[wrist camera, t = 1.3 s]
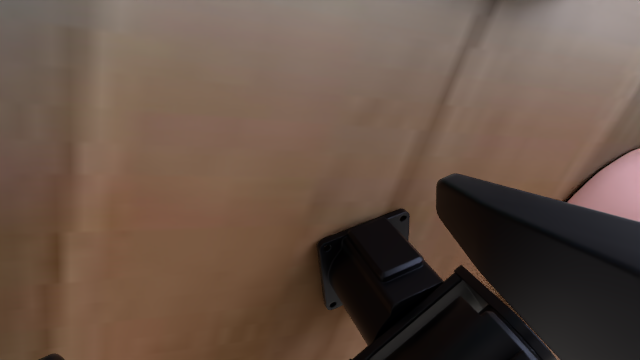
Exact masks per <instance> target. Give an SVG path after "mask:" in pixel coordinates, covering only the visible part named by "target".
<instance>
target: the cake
mask: <svg viewBox="0 0 640 360" xmlns="http://www.w3.org/2000/svg"><path fill="white" fill-rule="evenodd" d="M567 203H570V204H574V205H578V206H582V207H585V208H589V209H593V210H597V211H601V212H604V213H608V214H612V215H616V216H619V217H623V218H627V219H631V220H635V221H638V222H640V148H639V149H636V150H633V151H631V152H629V153H627V154H625V155H624V156H622V157H620V158H619V159H617V160H616V161H614V162H612V163H611V164H609V165H608V166H606V167H605V168H604V169H602V170H601V171H599V172H598V173H597V174H596V175H595V176H594V177H592V178H591V179H590V180H589V181H588V182H587V183H586V184H585V185H584V186H583V187H582V188H581V189H580V190H579V191H577V192H576V193H575V194H574V195H573V196H572V197H571V199H570V200H569V201H568V202H567Z"/></svg>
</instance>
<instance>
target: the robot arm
mask: <svg viewBox="0 0 640 360" xmlns="http://www.w3.org/2000/svg"><path fill="white" fill-rule="evenodd" d="M436 210H437V214H438V216H439V218H440V219H441V221H442V222H443V223H444V225H445V226H446V228H447V229H448V230H449V232H450V233H451V234H452V236H453V237H454V238H455V240H456V241H457V242H458V244H459V245H460V246H461V248H462V249H463V250H464V252H465V253H466V254H467V256H468V257H469V258H470V260H471V261H472V262H473V264H474V265H475V266H476V268H477V269H478V270H479V271H480V273H481V274H482V275H483V276H484V277H485V278H486V279H487V281H488V282H489V283H490V284H491V285H492V286H493V287H494V288H495V289H496V290H497V291H498V293H499V294H500V295H501V296H502V297H503V298H504V299H505V300H506V301H507V302H508V303H509V304H510V306H511V307H512V308H513V309H514V310H515V311H516V312H517V313H518V314H519V315H520V316H521V317H522V319H523V320H524V321H525V322H526V323H527V324H528V325H529V326H530V327H531V328H532V329H533V330H534V331H535V333H536V334H537V335H538V336H539V337H540V338H541V339H542V340H543V341H544V342H545V343H546V344H547V346H548V347H549V348H550V349H551V350H552V351H553V352H554V353H555V354H556V355H557V356H558V357H559V359H560V360H640V222H638V221H635V220H631V219H627V218H623V217H619V216H616V215H612V214H608V213H604V212H601V211H597V210H593V209H589V208H585V207H582V206H578V205H574V204H570V203H567V202H563V201H559V200H555V199H551V198H548V197H544V196H540V195H536V194H532V193H529V192H525V191H521V190H517V189H514V188H510V187H506V186H502V185H498V184H495V183H491V182H487V181H483V180H480V179H476V178H472V177H468V176H464V175H461V174H451V175H449V176H446V177H444V178H442V179H440V180H439V181H438V182H437V186H436ZM409 217H410V216H409V213H408V212H407V211H406V210H405V209H399V210H396V211H394V212H391V213H389V214H386V215H384V216H381V217H378V218H376V219H373V220H371V221H368V222H365V223H363V224H360V225H358V226H355V227H352V228H350V229H347V230H345V231H342V232H339V233H337V234H334V235H332V236H329V237H327V238H324V239H322V240H320V241H319V242H318V244H317V252H318V259H319V267H320V275H321V283H322V290H323V298H324V304H325V306H326V308H327V309H328V310H332V309H335V308H337V307H340V306H342V305H343V306H344V307H345V309H346V311H347V312H348V314H349V315H350V317H351V319H352V320H353V322H354V324H355V325H356V327H357V328H358V330H359V332H360V333H361V335H362V337H363V338H364V340H365V341H366V343H367V345H368V346H367V347H366V348H365V349H364V350H363V351H362V352H360V353H359V354H358V355H357V356H356V357H354V358H353V359H349V360H556V358H555V357H554V355H553V354H552V353H551V351H550V350H549V349H548V348H547V347H546V346H545V344H544V343H543V342H542V341H541V340H540V339H539V338H538V337H537V336H536V334H535V333H534V332H533V331H532V330H531V329H530V328H529V327H528V326H527V325H526V324H525V323H524V322H523V321H522V320H521V319H520V318H519V317H518V316H517V315H516V314H515V313H514V312H513V311H512V310H511V309H510V308H509V307H508V306H506V305H505V304H504V303H503V302H502V301H501V300H500V299H499V298H498V297H496V296H495V295H494V294H493V293H492V292H491V291H490V290H489V289H488V288H486V287H485V286H484V285H483V284H482V283H481V282H480V281H479V280H478V279H476V278H475V277H474V276H473V275H472V274H471V273H470V272H469V271H468V270H466V269H465V268H464V267H463V266H462V265H460V266H459V267H458V268H457V269H456V270H454V272H455V273H454V274H452V275H451V276H450V277H449V278H448V279H446V280H445V281H443V280H442V279H441V278H440V277H439V276H438V275H437V274H436V272H435V271H434V270H433V269H432V268H431V267H430V266H429V265H428V264H427V263H426V262H425V260H424V259H423V257H422V256H421V255H420V254H419V252H418V251H417V250H416V249H415V248H414V247H413V246H412V245H411V244H410V243H409V242H408V236H409ZM325 246H326V247H325ZM39 360H64V359H63V358H62V357H61V356H60V355H58V354H50V355H48V356H46V357H43V358H41V359H39Z"/></svg>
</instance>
